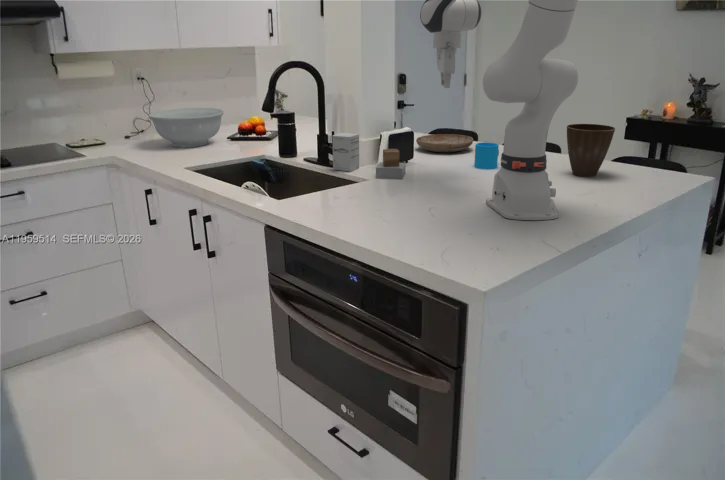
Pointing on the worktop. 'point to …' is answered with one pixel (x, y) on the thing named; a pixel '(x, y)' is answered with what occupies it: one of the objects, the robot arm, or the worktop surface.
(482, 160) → the mug
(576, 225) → the worktop surface
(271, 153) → the worktop surface
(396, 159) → the walnut cube
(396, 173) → the grey base
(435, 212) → the worktop surface
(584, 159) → the plant pot
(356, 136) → the supplement box
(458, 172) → the worktop surface
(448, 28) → the robot arm
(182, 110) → the bowl
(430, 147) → the shallow wooden dish
